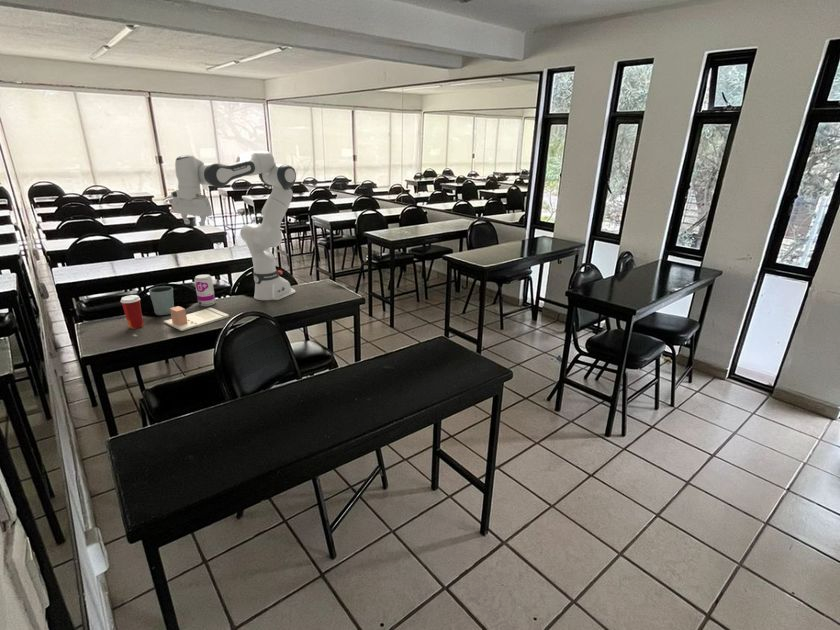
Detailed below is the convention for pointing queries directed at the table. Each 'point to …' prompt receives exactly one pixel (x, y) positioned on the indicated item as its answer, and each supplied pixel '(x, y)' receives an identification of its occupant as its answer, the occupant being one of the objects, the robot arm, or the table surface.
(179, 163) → the robot arm
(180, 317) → the stub
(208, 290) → the supplement can
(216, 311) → the white flat square board
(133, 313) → the paper cup
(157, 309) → the drinking glass
